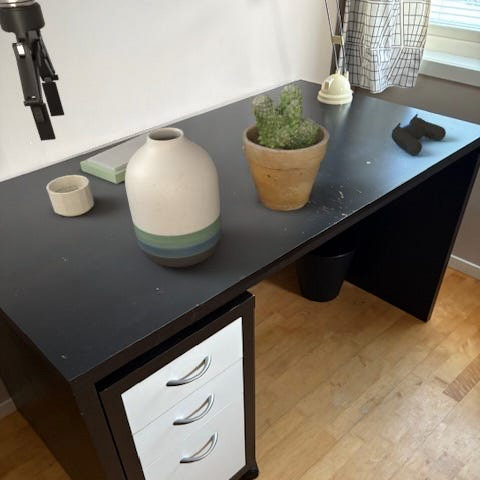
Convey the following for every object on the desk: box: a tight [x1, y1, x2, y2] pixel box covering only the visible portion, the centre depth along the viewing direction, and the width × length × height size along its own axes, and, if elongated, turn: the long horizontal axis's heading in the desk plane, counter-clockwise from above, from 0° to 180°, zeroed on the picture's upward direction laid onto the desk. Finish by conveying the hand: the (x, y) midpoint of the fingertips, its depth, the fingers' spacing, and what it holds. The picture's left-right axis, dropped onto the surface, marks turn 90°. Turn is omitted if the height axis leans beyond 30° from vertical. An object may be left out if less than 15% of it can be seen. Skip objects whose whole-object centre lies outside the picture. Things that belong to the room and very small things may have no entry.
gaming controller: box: [391, 113, 447, 156], centre depth 131 cm, size 17×6×10 cm
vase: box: [124, 127, 222, 268], centre depth 89 cm, size 17×17×24 cm
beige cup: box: [45, 174, 95, 217], centre depth 111 cm, size 9×9×6 cm
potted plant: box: [242, 83, 330, 212], centre depth 104 cm, size 18×19×25 cm
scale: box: [79, 130, 152, 185], centre depth 131 cm, size 14×26×3 cm, turn 142°
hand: (53, 126), depth 97 cm, fingers open, 13 cm apart
